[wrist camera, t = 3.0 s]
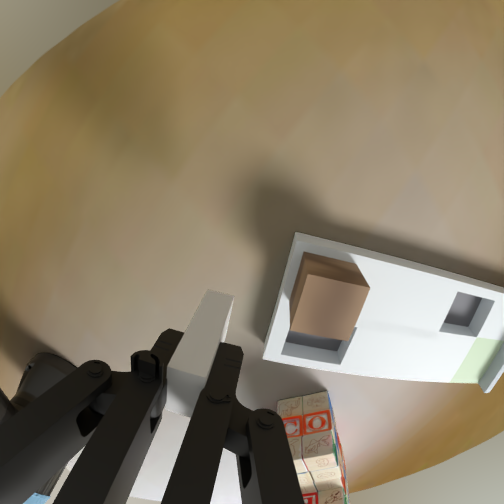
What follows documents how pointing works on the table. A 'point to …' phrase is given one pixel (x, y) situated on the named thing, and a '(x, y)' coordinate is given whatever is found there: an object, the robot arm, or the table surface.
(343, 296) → the walnut block
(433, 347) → the box
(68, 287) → the table surface
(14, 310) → the table surface
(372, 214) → the table surface
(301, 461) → the stack of blocks
